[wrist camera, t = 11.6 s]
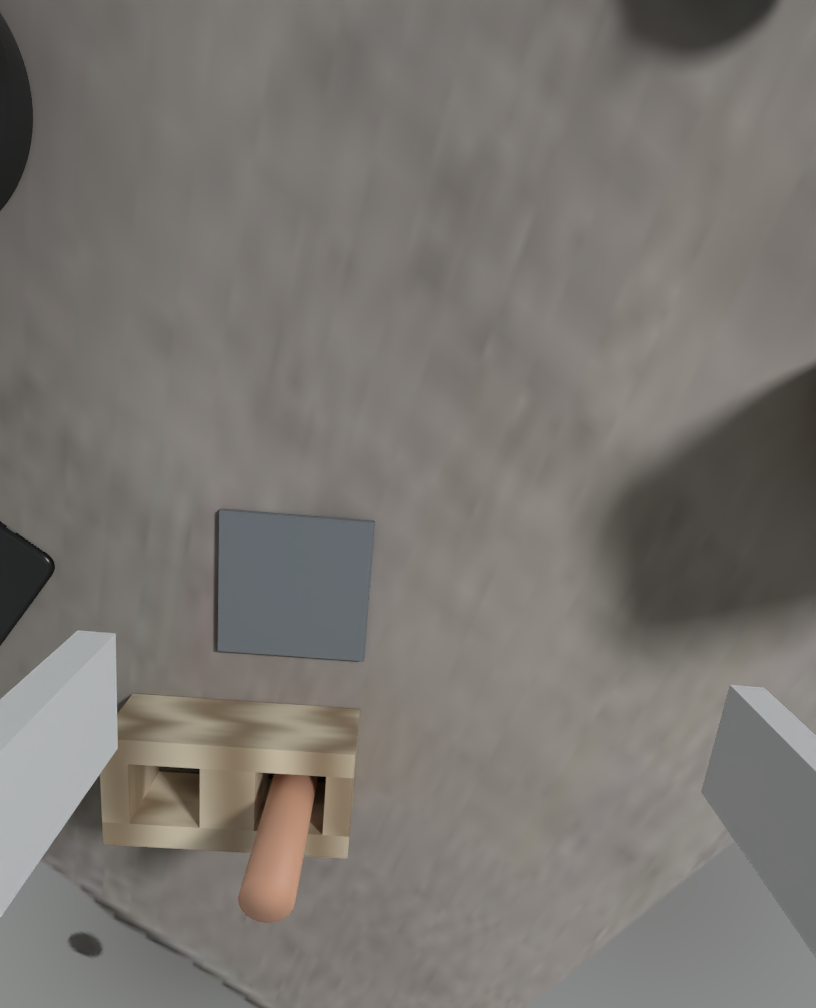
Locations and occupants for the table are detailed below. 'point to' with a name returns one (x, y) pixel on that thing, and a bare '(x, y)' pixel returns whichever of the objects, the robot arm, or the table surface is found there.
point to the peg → (278, 849)
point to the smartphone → (19, 577)
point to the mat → (293, 584)
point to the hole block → (225, 772)
